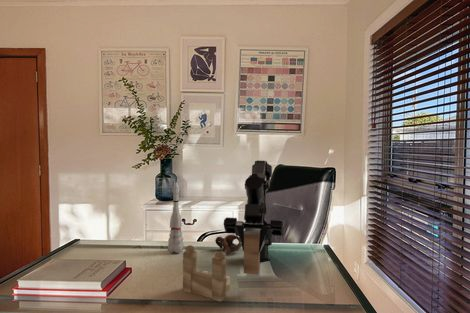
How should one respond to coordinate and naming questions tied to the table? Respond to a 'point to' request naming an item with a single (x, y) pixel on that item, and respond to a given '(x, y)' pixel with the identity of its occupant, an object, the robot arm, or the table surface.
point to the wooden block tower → (205, 276)
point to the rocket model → (175, 225)
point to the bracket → (251, 251)
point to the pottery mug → (228, 243)
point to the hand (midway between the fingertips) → (251, 251)
